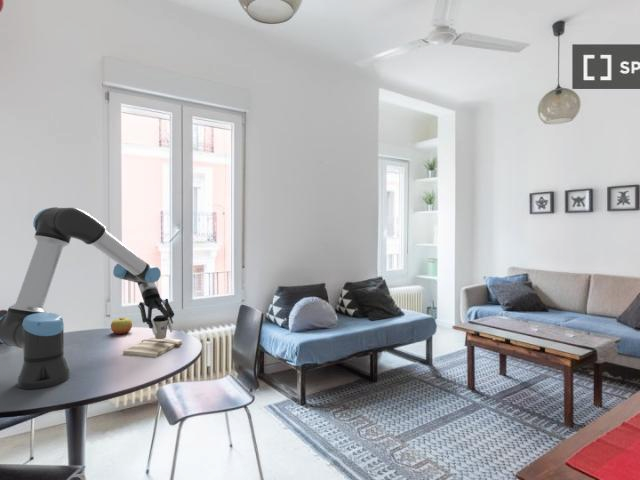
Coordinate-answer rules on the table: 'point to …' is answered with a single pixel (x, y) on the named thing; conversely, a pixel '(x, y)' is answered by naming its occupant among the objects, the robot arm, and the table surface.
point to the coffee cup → (161, 326)
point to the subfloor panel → (153, 347)
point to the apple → (121, 325)
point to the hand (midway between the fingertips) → (163, 331)
